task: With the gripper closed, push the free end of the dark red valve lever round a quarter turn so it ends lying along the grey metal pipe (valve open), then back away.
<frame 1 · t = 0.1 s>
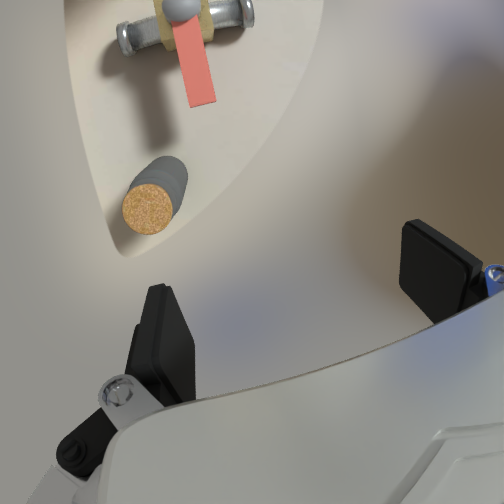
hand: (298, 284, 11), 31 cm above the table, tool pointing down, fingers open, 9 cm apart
lever: (190, 45, 25), point 8 cm above the table, hinge at 0.0°
bottle: (167, 176, 38), on the table
valve body: (186, 27, 29), on the table
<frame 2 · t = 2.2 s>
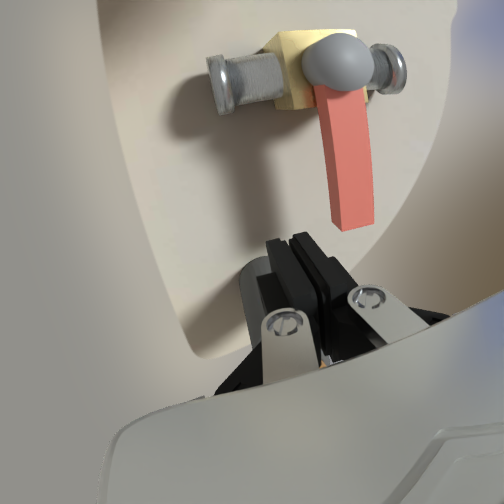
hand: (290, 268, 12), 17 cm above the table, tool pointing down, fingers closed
lever: (348, 133, 18), point 8 cm above the table, hinge at 0.0°
bottle: (265, 278, 32), on the table
valve body: (301, 74, 23), on the table
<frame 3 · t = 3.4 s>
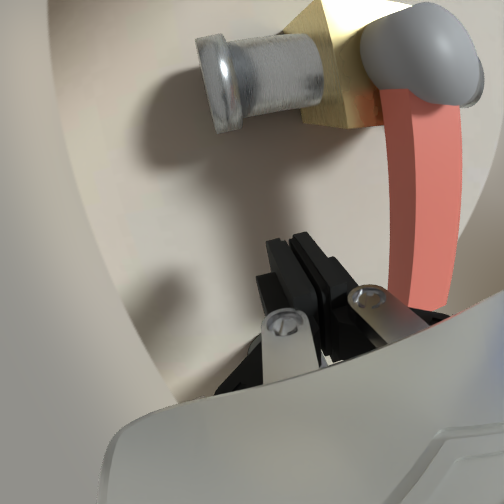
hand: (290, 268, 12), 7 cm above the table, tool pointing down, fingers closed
lever: (433, 175, 10), point 8 cm above the table, hinge at 0.0°
valve body: (339, 71, 15), on the table
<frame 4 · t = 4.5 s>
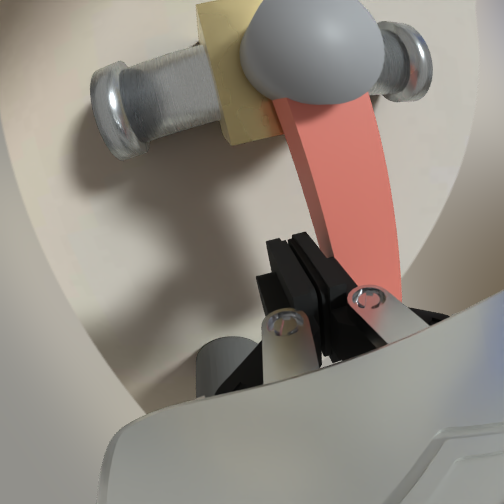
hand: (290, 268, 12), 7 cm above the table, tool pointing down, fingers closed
lever: (349, 184, 10), point 8 cm above the table, hinge at 7.5°, touching gripper
bottle: (230, 359, 24), on the table
valve body: (262, 75, 15), on the table
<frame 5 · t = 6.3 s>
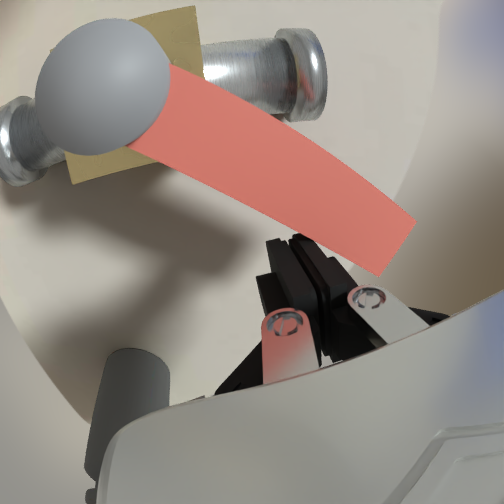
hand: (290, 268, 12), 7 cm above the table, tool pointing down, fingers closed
lever: (248, 154, 9), point 8 cm above the table, hinge at 52.2°, touching gripper
bottle: (138, 369, 23), on the table
valve body: (152, 99, 14), on the table
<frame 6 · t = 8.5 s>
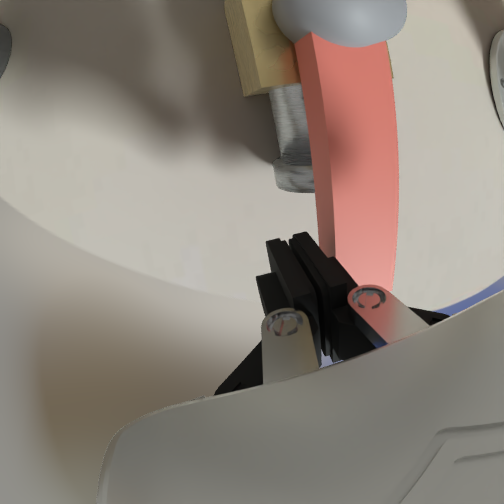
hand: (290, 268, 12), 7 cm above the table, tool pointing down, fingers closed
lever: (357, 129, 9), point 8 cm above the table, hinge at 88.1°
valve body: (284, 43, 14), on the table
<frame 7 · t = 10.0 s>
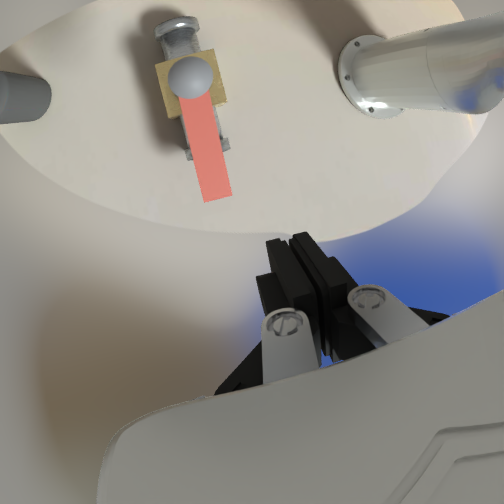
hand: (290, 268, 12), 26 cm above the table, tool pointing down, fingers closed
lever: (201, 128, 26), point 8 cm above the table, hinge at 88.1°
bottle: (34, 99, 26), on the table
valve body: (191, 89, 30), on the table
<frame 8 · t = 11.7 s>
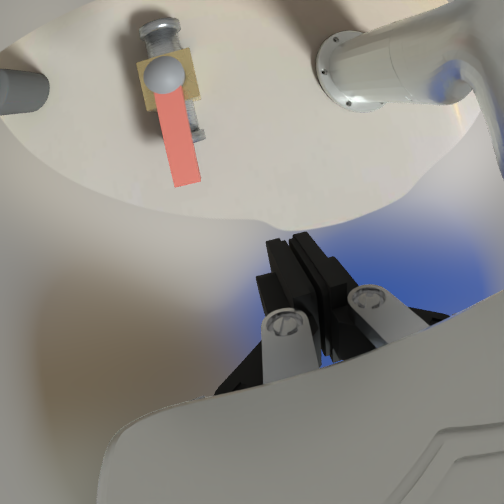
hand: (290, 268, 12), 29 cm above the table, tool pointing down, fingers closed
lever: (173, 120, 27), point 8 cm above the table, hinge at 88.1°
bottle: (34, 92, 28), on the table
valve body: (173, 84, 32), on the table
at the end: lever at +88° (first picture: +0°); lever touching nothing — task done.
